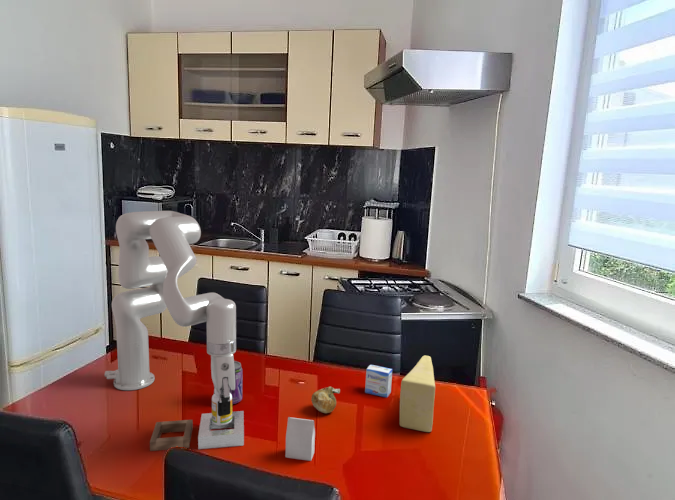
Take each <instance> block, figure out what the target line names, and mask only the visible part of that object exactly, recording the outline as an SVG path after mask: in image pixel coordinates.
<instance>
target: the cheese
mask: <svg viewBox="0 0 675 500" xmlns="http://www.w3.org/2000/svg"><path fill="white" fill-rule="evenodd" d="M432 361H433V360H432V357H431V356H429V355H423V356H422V357H421V358H420V359H419V360H418V361H417V363H416V365H415V366H414V367H413V368H412V369H411V370H410V371H409V372H408V373H407V374H406V375H405V376H404V377H403V378H402V380H401V382H400V391H399V392H400V393H399V394H400V395H399V423H398V424H399V426H400V427H402V428H404V429H410V430H414V431H419V432H425V433H431V432H432V431H433V424H434V422H433V421H434V407H435V396H436V381H435V375H434V374H435V373H434V366H433V362H432Z"/></svg>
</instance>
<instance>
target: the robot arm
mask: <svg viewBox="0 0 675 500" xmlns="http://www.w3.org/2000/svg"><path fill="white" fill-rule="evenodd" d="M117 218H118V219H117V221H116V223H115V233H116V237H117V241H118V245H119V253H118V254H119V255H118V282H119V285H120V286H121V287H122V288H123V289H125V290H126V289H127V290H126V291H122V292H120V293H118V294H116V295H115V296H114V297H113V299H112V300H111V310H112V314H113V318H114V325H115V330H116V331H115V332H116V349H117V369H115V370H105V371H104V377H105V378H106V380H113V386H114V388H115V389H117V390H121V391H137V390H141V389H144V388H146V387H149V386H150V385H152V384H153V383H154V381H155V374H154V373H152V372H150V352H149V351H150V349H149V330H148V328H147V326H146V325H145V324H144V323H143V322H142V321H141V319H144V318H147V317H150V316H155V315H158V314H161V313H164V312H165V311H166V309H167V310H168V312H169V314H170V317H171V318H172V321H174V322H175V324H177V325H178V326H180V327H191V326H195V325H199V324H202V323H206V353H207V354H208V355H209V356H210V370H211V371H210V372H211V379H212V380H211V381H212V383H213V388H215V389H216V391H217V392H218V393H219V401H218V416H223V415H229V414H230V390H229V386H230V388H231V390H235V368H234V361H235V359H234V354H235V353H236V351H237V305H236V303H235V301H233V300H232V299H229V298H225V297H223V296H222V295H220V294H218V293H216V292H207V293H202V294H201V293H200V294H196V295H191V296H187V297H183V294H182V293H181V291H180V288H179V285H178V280H179V278H181V277H182V276H184V275H185V274H187V273H188V272H189V271H191V270H192V269H194V267H195V265H196V264H197V261H198V260H197V257H196V255H195V253H194V251H193V248H192V247H191V244H196V243H197V242H198V241H200V239H201V235H202V231H201V226H200V224H199V223H198V221H197V220H196V219H195V218H194V217H192V216H191V215H187V214H184V213H180V212H178V211H173V210H154V211H145V210H144V211H132V212H126V213H124V214H122V215H120V216H119V217H117ZM146 240H151V241H152V242H153V244H154V247H155V249H156V251H157V252H158V255H159V256H156V255H155V256H154V255H153V256H149V254H150V253H149V252H150V247H149V243H148V242H147V241H146ZM131 289H132V290H131ZM220 388H223V390H220ZM223 392H224V394H223V395H222V397H221V393H223ZM213 394H215V393H214V392H213Z"/></svg>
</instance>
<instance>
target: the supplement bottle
mask: <svg viewBox="0 0 675 500" xmlns="http://www.w3.org/2000/svg"><path fill="white" fill-rule="evenodd" d="M213 388H214V387H213ZM220 390H223V388H220ZM229 390H230V388H229ZM214 393H215V394H214ZM223 394H224V392H223V393H221V397H222V395H223ZM218 401H219V393H218V392H217V391H216V389H215V388H214V389H213V395H212V396H211V413H212V422H213V423H214V424H216V425H225V424H228V423H230V422H231V421H232V412H233V404H232V395H231V393H230V414H229V415H223V416H218Z"/></svg>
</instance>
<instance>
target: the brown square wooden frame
mask: <svg viewBox="0 0 675 500" xmlns="http://www.w3.org/2000/svg"><path fill="white" fill-rule="evenodd" d="M193 421H194V420H193V419H183V420H180V419H179V420H169V421H156V422H155V425H154V429H153V432H152V434H151V438H150V440H149V451H150V452H155V451H166V450H168V449H169V448H171V447H176V446H178V447H185V448H184V449H189V448H190V446H191V439H192V433H193V430H194V429H193V428H194V427H193V426H194V422H193ZM177 432H178V433H181V432H184V434H183V436H171V437H161V436H162V434H164V433H166V434H168V433H177ZM169 450H170V449H169Z"/></svg>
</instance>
